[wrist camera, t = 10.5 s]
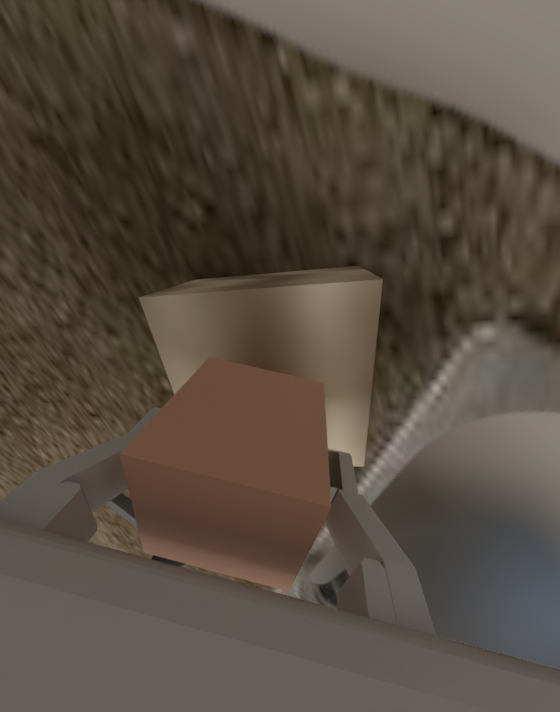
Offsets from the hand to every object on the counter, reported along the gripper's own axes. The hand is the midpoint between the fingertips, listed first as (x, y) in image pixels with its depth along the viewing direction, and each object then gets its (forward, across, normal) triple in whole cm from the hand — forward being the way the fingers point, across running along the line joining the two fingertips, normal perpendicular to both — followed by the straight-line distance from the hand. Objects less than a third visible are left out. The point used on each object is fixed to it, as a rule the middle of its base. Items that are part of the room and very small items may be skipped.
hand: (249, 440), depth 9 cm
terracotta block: (+2, 0, 0) cm, 2 cm away
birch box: (+9, 0, 0) cm, 9 cm away
